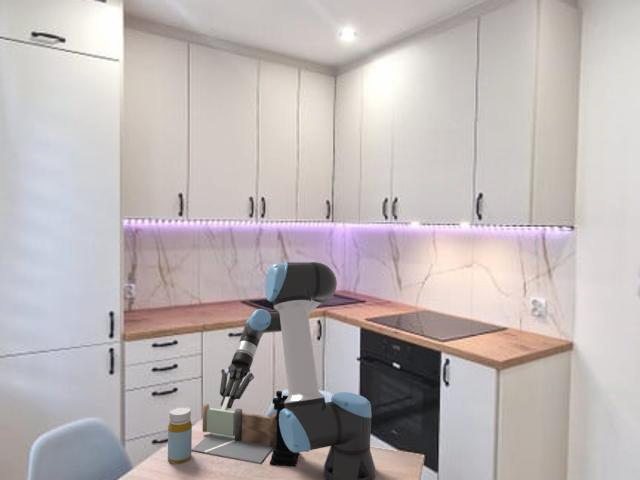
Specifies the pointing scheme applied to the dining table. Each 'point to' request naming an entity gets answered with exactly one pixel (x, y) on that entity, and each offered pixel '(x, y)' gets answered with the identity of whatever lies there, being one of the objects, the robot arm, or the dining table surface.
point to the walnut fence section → (255, 428)
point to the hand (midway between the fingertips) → (222, 416)
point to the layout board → (232, 448)
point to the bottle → (179, 435)
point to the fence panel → (218, 421)
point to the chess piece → (281, 451)
